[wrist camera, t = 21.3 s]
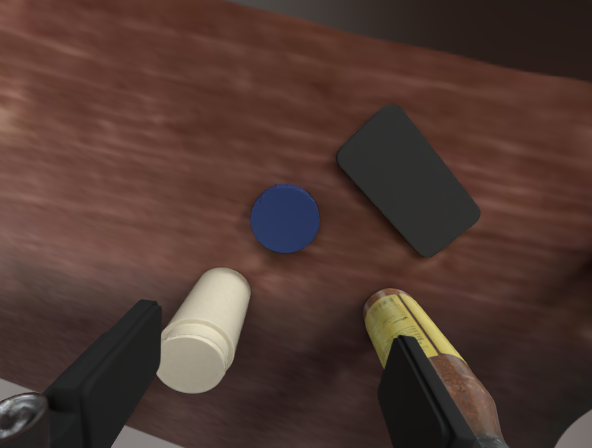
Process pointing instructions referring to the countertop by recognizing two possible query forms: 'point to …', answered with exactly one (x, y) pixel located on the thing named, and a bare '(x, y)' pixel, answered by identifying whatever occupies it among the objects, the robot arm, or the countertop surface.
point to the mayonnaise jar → (204, 332)
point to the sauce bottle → (433, 358)
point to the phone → (407, 181)
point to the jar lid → (285, 218)
